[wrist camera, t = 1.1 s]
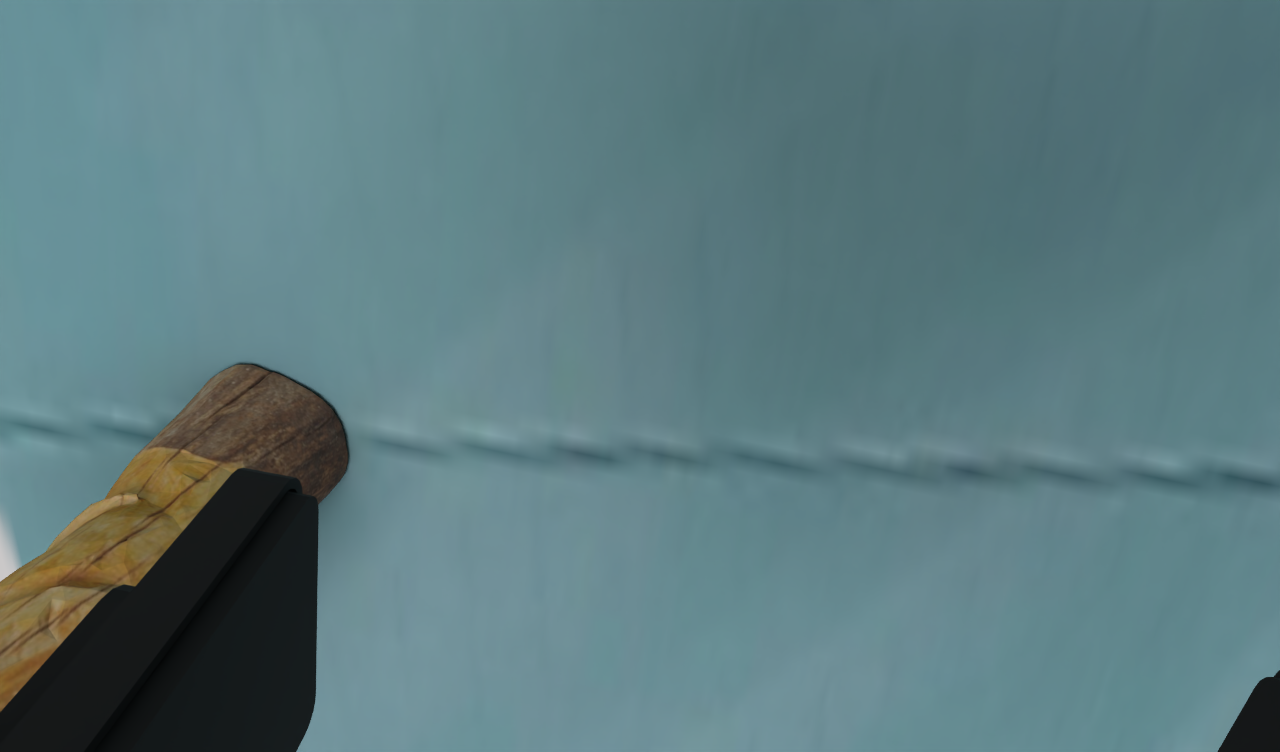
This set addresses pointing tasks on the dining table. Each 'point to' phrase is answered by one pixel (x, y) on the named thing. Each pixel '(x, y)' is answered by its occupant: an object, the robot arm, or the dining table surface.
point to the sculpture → (165, 504)
